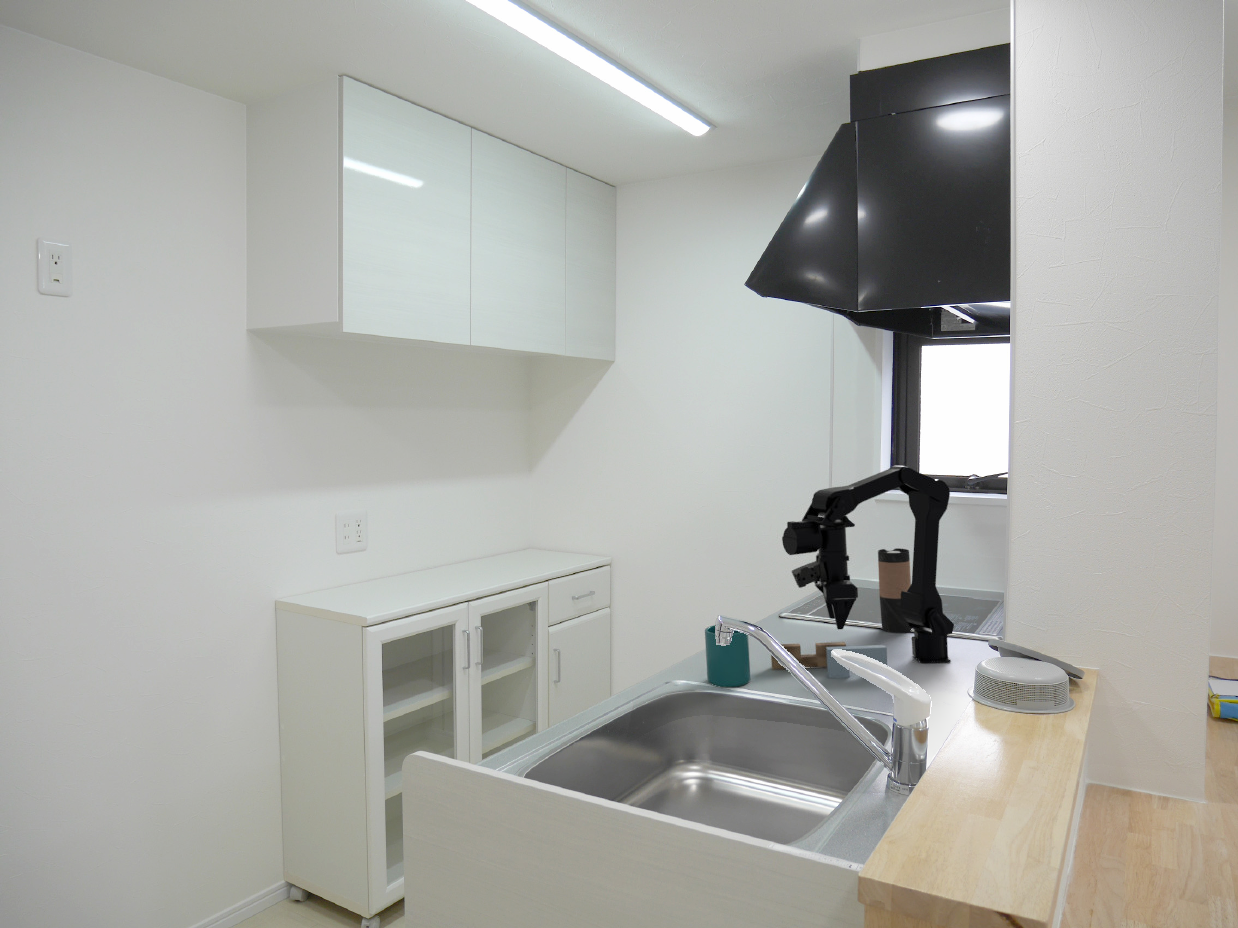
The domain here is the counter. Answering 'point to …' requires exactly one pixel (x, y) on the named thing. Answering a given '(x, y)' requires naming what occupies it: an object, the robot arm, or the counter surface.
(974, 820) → the counter surface
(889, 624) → the travel mug
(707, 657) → the cup
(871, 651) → the slate block
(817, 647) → the walnut board
